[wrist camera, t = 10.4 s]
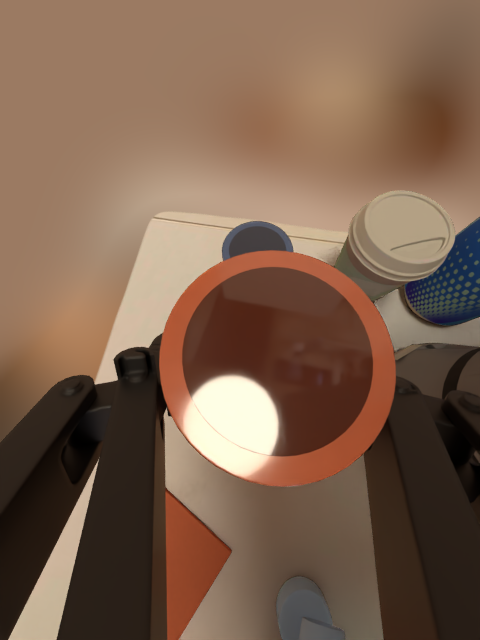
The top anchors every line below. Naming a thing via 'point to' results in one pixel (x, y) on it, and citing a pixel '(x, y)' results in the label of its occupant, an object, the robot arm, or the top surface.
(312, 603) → the spotlight
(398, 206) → the coffee cup
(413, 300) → the beer can
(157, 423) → the robot arm
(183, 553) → the terracotta mat
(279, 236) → the blue tumbler
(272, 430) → the terracotta tumbler
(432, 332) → the top surface
